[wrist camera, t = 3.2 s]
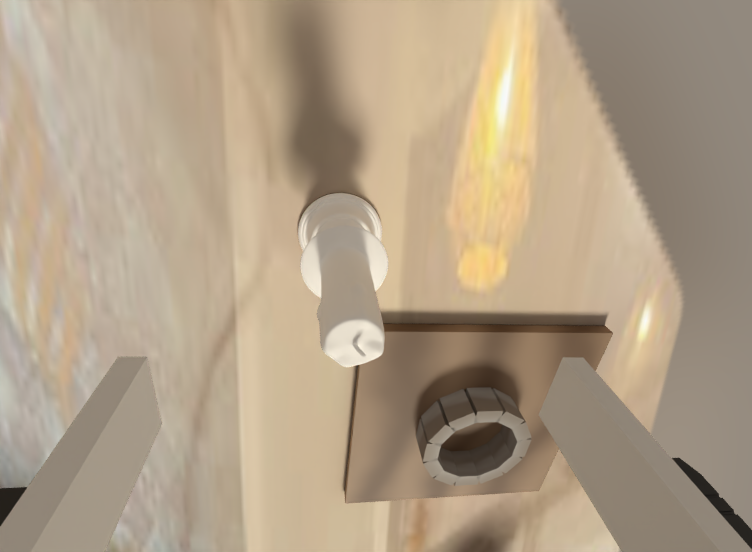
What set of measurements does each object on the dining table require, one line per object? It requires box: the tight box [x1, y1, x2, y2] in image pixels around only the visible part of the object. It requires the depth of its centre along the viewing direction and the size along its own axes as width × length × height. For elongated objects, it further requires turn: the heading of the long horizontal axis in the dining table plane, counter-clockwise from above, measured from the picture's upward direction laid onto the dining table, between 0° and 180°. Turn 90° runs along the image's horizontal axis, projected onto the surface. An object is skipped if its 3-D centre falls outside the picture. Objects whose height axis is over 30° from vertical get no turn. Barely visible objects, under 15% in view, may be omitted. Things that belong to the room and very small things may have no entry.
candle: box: [298, 193, 388, 367], centre depth 20 cm, size 5×5×12 cm
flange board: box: [345, 324, 613, 503], centre depth 33 cm, size 20×20×4 cm
